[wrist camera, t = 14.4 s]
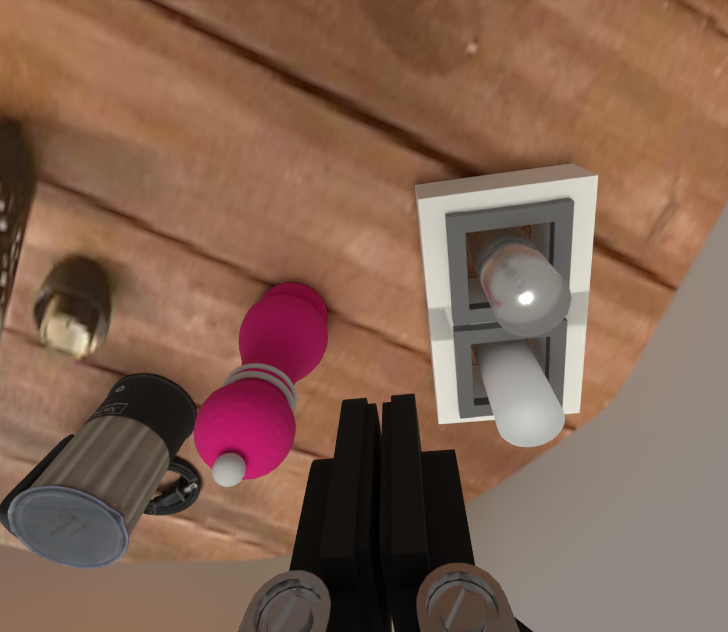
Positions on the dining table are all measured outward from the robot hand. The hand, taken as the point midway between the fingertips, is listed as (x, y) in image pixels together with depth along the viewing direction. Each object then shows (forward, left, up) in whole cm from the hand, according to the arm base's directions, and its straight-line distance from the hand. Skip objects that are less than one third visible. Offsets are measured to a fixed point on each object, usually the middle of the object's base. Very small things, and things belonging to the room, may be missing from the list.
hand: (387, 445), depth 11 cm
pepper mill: (+10, -10, -29) cm, 33 cm away
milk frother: (+23, -28, -29) cm, 47 cm away
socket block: (+10, +8, -29) cm, 32 cm away
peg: (+6, +8, -29) cm, 31 cm away
